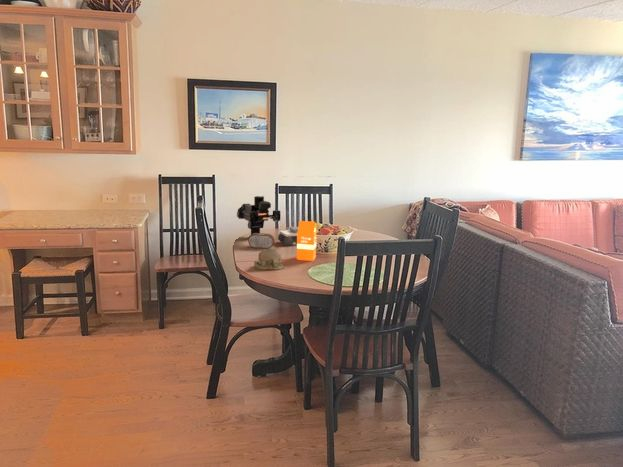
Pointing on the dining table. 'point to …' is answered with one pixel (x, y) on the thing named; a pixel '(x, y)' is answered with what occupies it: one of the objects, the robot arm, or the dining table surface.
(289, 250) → the dining table surface
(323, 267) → the dining table surface
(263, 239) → the tin
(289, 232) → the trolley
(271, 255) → the ceramic model
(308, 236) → the orange juice
